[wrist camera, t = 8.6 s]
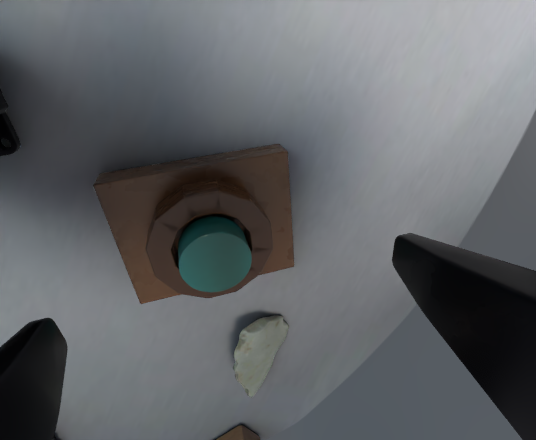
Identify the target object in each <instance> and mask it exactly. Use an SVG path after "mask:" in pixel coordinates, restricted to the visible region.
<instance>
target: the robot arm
mask: <svg viewBox="0 0 536 440" xmlns="http://www.w3.org/2000/svg"><path fill="white" fill-rule="evenodd" d="M7 108H8V104H7V102H6V100H5V98H4V96H3V94H2V92H1V90H0V156H4V155H10V154H13V153H15V152H16V151H17V150H18V149H19V148H20V145H21V144H20V140H19V138H18V136H17V134H16V132H15V130H14V128H13V126H12V124H11V122H10V120H9V118H8V115H7V113H6V110H7ZM1 139H6V140H8V141H9V142H10V144H11V147H6V146H4V145H3V144H2V142H1ZM392 262H393V266H394V268H395V269H396V271H397V273H398V274H399V276H400V277H401V279H402V280H403V282H404V284H405V285H406V287H407V288H408V290H409V292H410V293H411V295H412V296H413V298H414V299H415V301H416V303H417V304H418V305H419V307H420V308H421V310H422V311H423V313H424V314H425V315H426V317H427V318H428V319H429V321H430V322H431V323H432V325H433V326H434V327H435V328H436V330H437V331H438V332H439V334H440V335H441V336H442V337H443V339H444V340H445V341H446V342H447V344H448V345H449V346H450V347H451V349H452V350H453V351H454V353H455V354H456V355H457V357H458V358H459V359H460V360H461V362H462V363H463V364H464V365H465V367H466V368H467V369H468V371H469V372H470V373H471V374H472V376H473V377H474V378H475V380H476V381H477V382H478V383H479V385H480V386H481V387H482V388H483V390H484V391H485V392H486V394H487V395H488V396H489V397H490V399H491V400H492V401H493V403H494V404H495V405H496V406H497V408H498V409H499V410H500V411H501V413H502V414H503V415H504V416H505V418H506V419H507V420H508V422H509V423H510V424H511V426H512V427H513V428H514V429H515V431H516V432H517V433H518V434H519V436H520V437H521V438H522V440H536V271H534V270H531V269H527V268H524V267H521V266H518V265H514V264H511V263H508V262H505V261H501V260H498V259H494V258H491V257H488V256H485V255H482V254H478V253H475V252H472V251H468V250H465V249H462V248H459V247H455V246H452V245H449V244H445V243H442V242H439V241H436V240H432V239H429V238H426V237H422V236H419V235H416V234H412V233H408V234H403V235H399V236H397V237H396V239H395V243H394V250H393V257H392ZM66 357H67V343H66V340H65V338H64V337H63V335H62V333H61V332H60V330H59V328H58V327H57V325H56V323H55V322H54V321H53V320H52V319H51V318H44V319H40V320H36V321H32V322H29V323H28V324H27V325H25V326H24V327H23V328H22V329H21V330H20V331H18V332H17V333H16V334H15V335H14V336H13V337H11V338H10V339H9V340H8V341H7V342H6V343H4V344H3V345H2V346H1V347H0V440H53V437H54V433H55V429H56V425H57V420H58V415H59V409H60V403H61V395H62V388H63V380H64V372H65V365H66Z"/></svg>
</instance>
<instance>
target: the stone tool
mask: <svg viewBox="0 0 536 440" xmlns="http://www.w3.org/2000/svg"><path fill="white" fill-rule="evenodd" d="M287 331H288V325H287V323H285V322H284V321H283V317H282V316H271V317H267V318H265V317H264V318H260V319H258V320H256V321H255V322H253V323H251V324H250V325H249V326H247V327H246V328H244V329H243V330H242V332H241V334H240V336H239V338H240V339H239V343H238V345H237V347H236V349H235V351H234V359H235V360H236V362H235V364H234V366H233V369H234V371H235V377H236V379H237V381H238V382H239V383H241V384H242V386H243V388H244V389H245V392H246V394H247V395H248V396H249V397H251V398H252V397H253V396H254V395H255V393H256V392H257V391H258V390H259V388H260V387H261V385H262V383H263V381H264V379H265V377H266V375H267V373H268V371H269V370H270V368H271V366H272V363H273V360H274V356H275V354H276V352H277V350H278V349H279V347H280V346H281V345H282V343H283V341H284V340H285V338H286V334H287Z"/></svg>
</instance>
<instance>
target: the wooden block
mask: <svg viewBox="0 0 536 440" xmlns="http://www.w3.org/2000/svg"><path fill="white" fill-rule="evenodd" d="M216 440H260V437H259V436H258V435H256V434H255V433H253V432H252V431H250V430H249V429H247V428H246V427H244V426H243V425H240V426H237V427H236V428H234V429H232V430H231V431H229V432H228V433H226V434H224V435H223V436H221V437H219V438H218V439H216Z"/></svg>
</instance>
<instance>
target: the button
mask: <svg viewBox="0 0 536 440" xmlns="http://www.w3.org/2000/svg"><path fill="white" fill-rule="evenodd" d="M251 263H252V255H251V251H250V248H249V246H248V243H247V241H246V238H245V236H244V233H243V231H242V229H241V228H240V227H239V226H238V225H237V224H236V223H235V222H233V221H232V220H230V219H227V218H224V217H219V216H210V217H205V218H201V219H199V220H196V221H195V222H193V223H191V224H190V225H189V226H188V227H187V228H186V229H185V230H184V231H183V233H182V234H181V236H180V238H179V242H178V264H179V272H180V275H181V277H182V279H183V280H184V281H185V282H186V283H187V284H188V285H189V286H191V287H192V288H194V289H196V290H199V291H203V292H220V291H224V290H227V289H229V288H232V287H233V286H235V285H237V284H238V283H239V282H241V281H242V280H243V279H244V278H245V276H246V275H247V273H248V272H249V269H250V267H251Z"/></svg>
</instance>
